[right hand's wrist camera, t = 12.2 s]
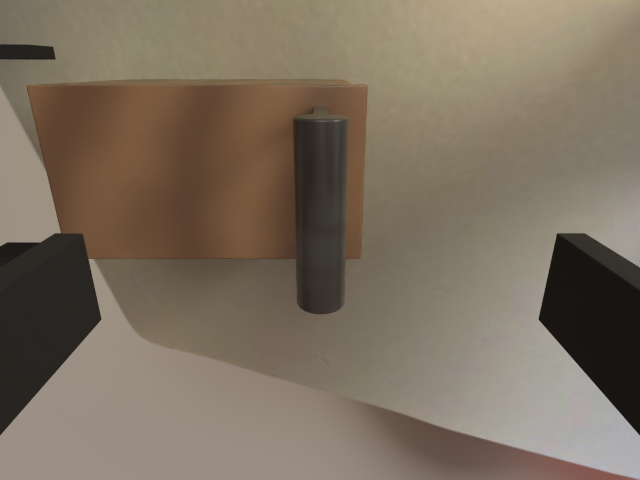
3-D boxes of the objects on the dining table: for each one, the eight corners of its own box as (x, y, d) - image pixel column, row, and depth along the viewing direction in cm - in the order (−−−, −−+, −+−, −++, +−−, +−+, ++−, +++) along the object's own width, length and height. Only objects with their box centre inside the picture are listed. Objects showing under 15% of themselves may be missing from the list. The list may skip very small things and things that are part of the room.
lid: (365, 84, 23) (391, 93, 14) (359, 250, 26) (377, 332, 18) (40, 84, 22) (-117, 93, 14) (78, 250, 26) (-32, 333, 18)
